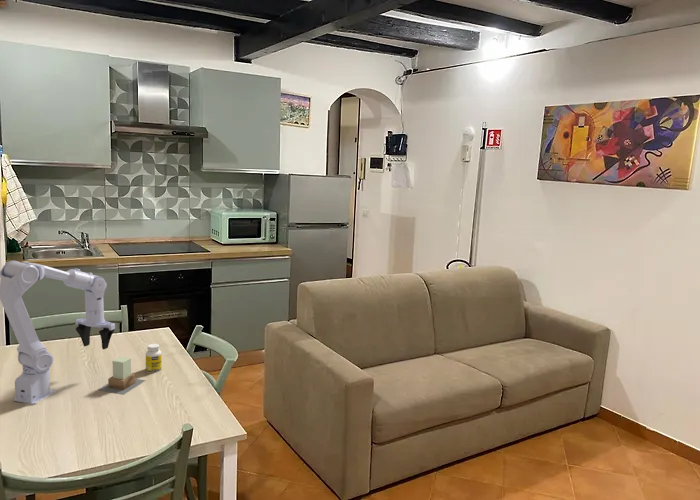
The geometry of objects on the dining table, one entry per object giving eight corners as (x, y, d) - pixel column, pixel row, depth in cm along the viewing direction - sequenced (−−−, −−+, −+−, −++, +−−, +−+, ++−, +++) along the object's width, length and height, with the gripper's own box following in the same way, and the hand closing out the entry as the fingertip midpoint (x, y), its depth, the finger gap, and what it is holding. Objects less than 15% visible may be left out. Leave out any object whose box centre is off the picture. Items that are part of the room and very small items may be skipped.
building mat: (123, 396, 178) (123, 394, 178) (97, 391, 180) (97, 389, 180) (145, 382, 189) (145, 380, 189) (120, 377, 192) (120, 376, 192)
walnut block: (124, 389, 181) (123, 381, 180) (108, 387, 182) (108, 378, 182) (135, 382, 187) (135, 374, 186) (120, 380, 188) (119, 372, 188)
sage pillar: (123, 379, 182) (123, 362, 181) (113, 377, 183) (112, 360, 182) (131, 375, 186) (130, 358, 185) (120, 373, 187) (120, 356, 186)
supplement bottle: (151, 375, 195) (151, 349, 193) (142, 371, 198) (142, 345, 196) (164, 371, 199) (164, 345, 197) (155, 367, 202) (155, 341, 201)
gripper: (120, 308, 191) (121, 345, 193) (84, 304, 194) (86, 340, 197) (106, 314, 184) (107, 352, 186) (70, 309, 187) (71, 347, 190)
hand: (95, 346), depth 191 cm, fingers open, 7 cm apart
